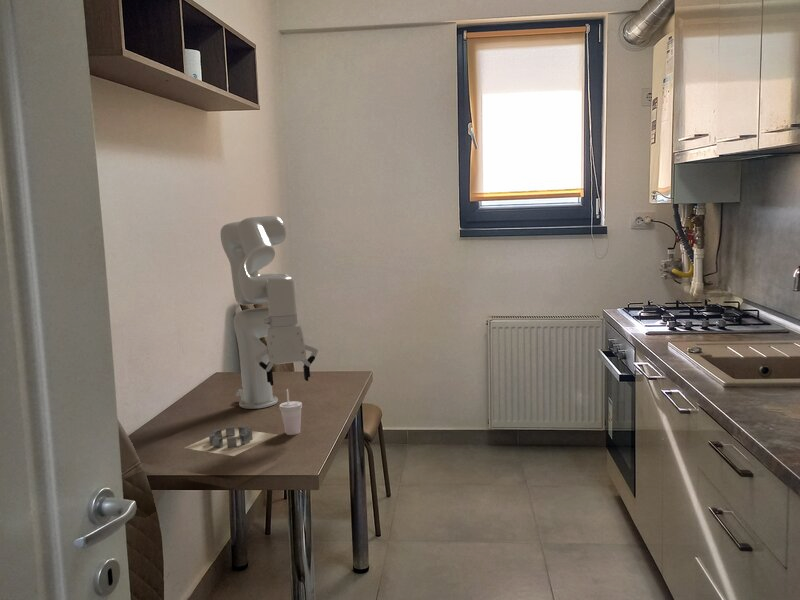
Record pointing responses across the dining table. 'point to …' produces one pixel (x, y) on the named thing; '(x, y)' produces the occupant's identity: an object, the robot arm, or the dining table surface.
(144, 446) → the dining table surface
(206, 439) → the socket plate
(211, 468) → the dining table surface
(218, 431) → the grey blocks
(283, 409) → the smoothie
